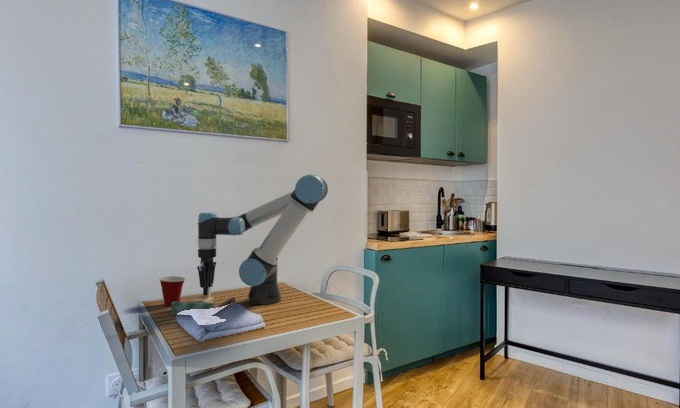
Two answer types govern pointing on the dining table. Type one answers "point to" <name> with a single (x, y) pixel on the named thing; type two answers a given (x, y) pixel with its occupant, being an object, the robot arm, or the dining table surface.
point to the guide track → (196, 305)
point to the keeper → (203, 300)
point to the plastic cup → (171, 289)
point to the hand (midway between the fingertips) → (206, 302)
